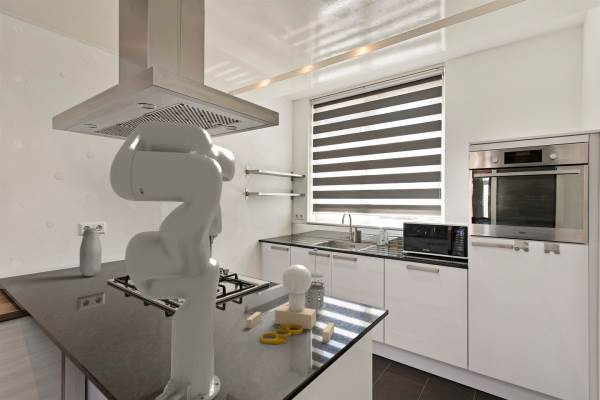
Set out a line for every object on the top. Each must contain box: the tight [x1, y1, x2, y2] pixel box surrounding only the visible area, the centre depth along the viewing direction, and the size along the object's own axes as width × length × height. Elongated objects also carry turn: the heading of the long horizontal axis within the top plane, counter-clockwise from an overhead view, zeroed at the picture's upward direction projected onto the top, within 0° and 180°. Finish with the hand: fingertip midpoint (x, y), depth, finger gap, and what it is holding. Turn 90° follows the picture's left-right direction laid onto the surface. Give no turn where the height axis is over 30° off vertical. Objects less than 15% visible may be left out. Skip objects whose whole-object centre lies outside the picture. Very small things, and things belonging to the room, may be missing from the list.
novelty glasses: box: [259, 324, 304, 345], centre depth 101 cm, size 17×2×10 cm
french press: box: [305, 248, 327, 311], centre depth 129 cm, size 10×12×25 cm
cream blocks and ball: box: [245, 263, 335, 343], centre depth 109 cm, size 16×30×22 cm, turn 71°
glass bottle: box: [79, 227, 103, 277], centre depth 173 cm, size 10×10×28 cm
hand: (205, 257), depth 93 cm, fingers closed
